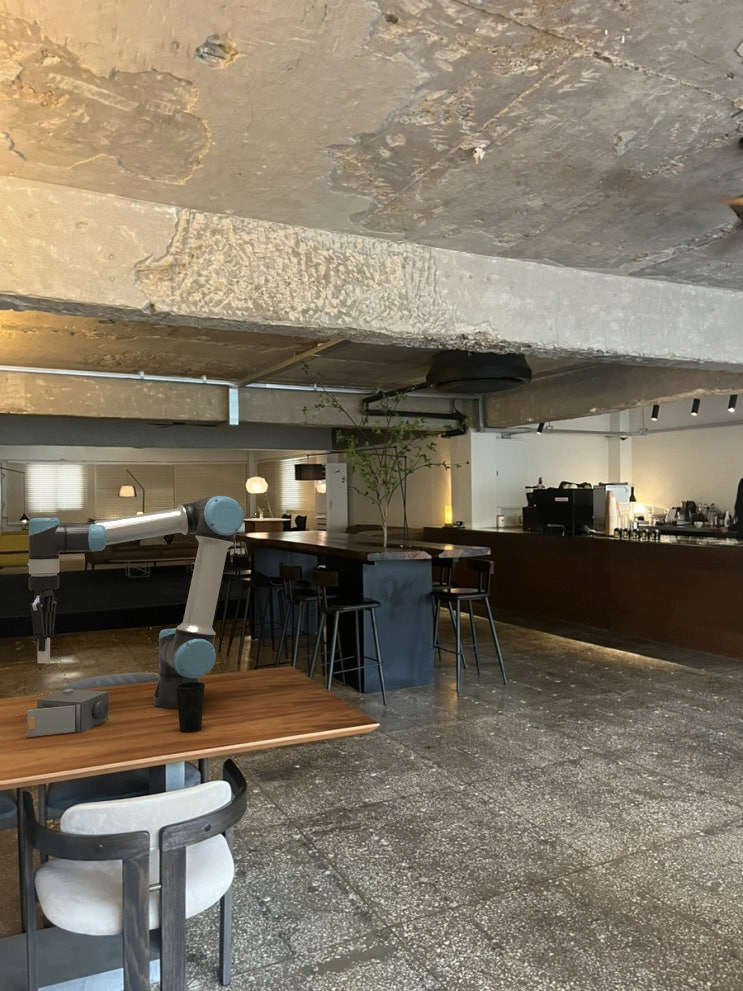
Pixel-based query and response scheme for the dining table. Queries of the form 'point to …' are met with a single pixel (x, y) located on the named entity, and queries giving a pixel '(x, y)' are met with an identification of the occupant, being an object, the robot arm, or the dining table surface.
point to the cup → (190, 705)
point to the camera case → (80, 706)
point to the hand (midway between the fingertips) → (43, 662)
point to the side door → (50, 721)
